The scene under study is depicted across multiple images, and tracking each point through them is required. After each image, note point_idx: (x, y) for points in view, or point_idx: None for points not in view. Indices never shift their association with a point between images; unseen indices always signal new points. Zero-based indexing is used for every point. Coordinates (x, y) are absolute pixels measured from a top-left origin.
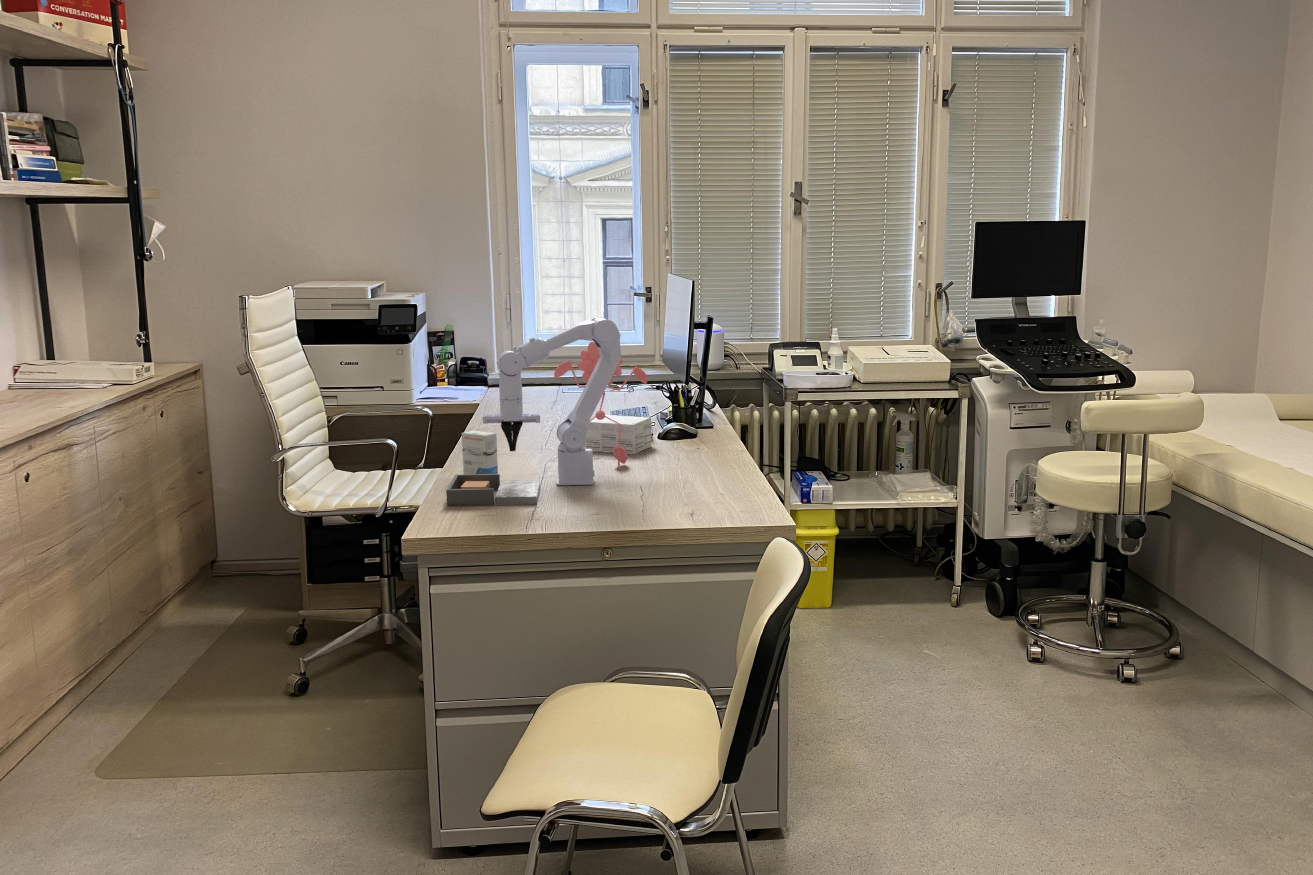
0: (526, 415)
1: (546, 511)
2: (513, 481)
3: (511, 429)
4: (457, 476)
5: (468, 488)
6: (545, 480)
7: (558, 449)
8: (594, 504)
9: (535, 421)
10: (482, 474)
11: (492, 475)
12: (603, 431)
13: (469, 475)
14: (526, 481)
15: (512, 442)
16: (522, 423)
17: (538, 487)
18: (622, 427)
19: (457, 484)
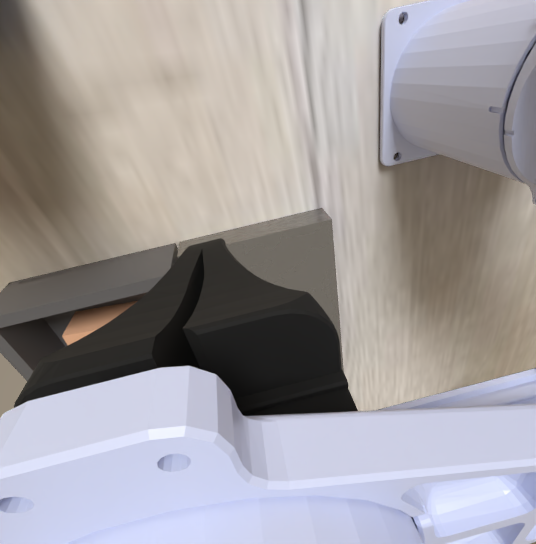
0: (478, 529)
1: (363, 394)
2: (228, 248)
3: (200, 368)
4: (7, 341)
5: None
6: (323, 60)
7: (506, 150)
8: (471, 333)
9: (530, 398)
10: (98, 297)
11: (145, 290)
12: None
13: (46, 316)
14: (280, 240)
15: (203, 274)
16: (344, 387)
17: (337, 305)
18: None
19: (30, 328)
